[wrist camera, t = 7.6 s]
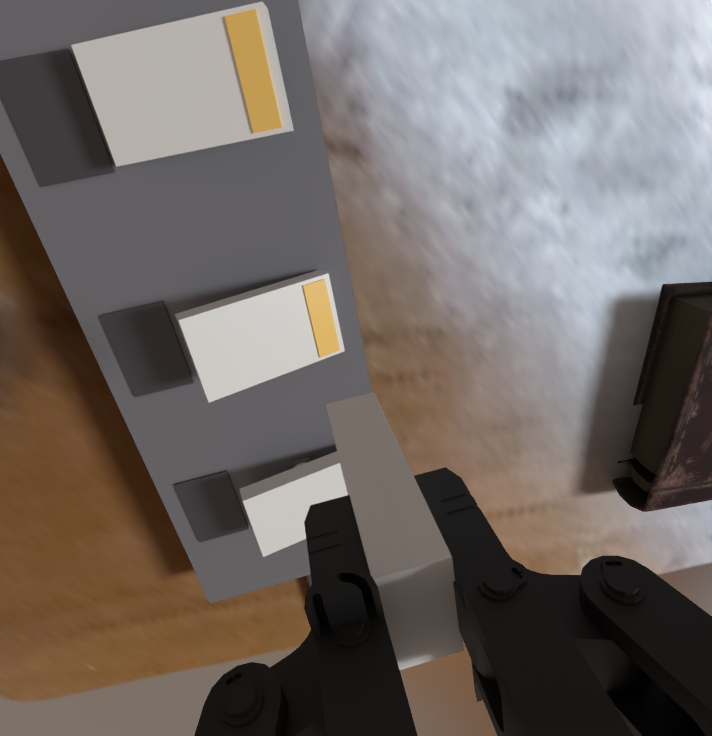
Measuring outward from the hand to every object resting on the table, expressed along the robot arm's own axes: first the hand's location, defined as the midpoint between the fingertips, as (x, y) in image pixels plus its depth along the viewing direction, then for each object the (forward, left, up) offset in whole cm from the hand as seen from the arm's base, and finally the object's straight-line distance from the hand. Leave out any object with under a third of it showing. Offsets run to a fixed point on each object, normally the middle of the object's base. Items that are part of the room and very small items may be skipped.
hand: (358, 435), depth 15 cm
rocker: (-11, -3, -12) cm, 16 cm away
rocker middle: (0, -3, -12) cm, 12 cm away
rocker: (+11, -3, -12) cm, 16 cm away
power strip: (+4, -5, -16) cm, 18 cm away
